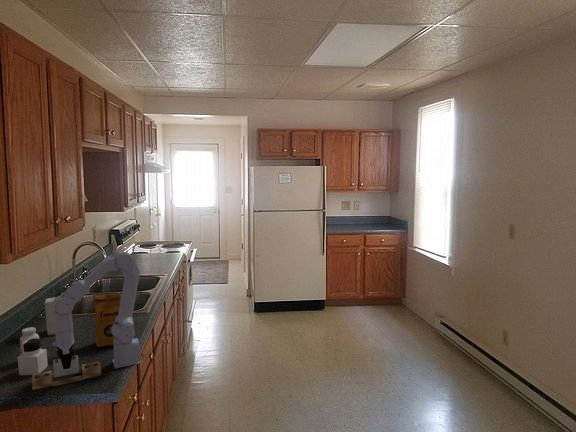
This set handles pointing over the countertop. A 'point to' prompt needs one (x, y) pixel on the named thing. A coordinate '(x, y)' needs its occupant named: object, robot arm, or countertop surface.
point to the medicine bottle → (32, 358)
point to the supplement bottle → (28, 335)
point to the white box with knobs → (62, 372)
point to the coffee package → (106, 317)
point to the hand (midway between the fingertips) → (66, 366)
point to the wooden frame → (46, 377)
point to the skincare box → (50, 316)
